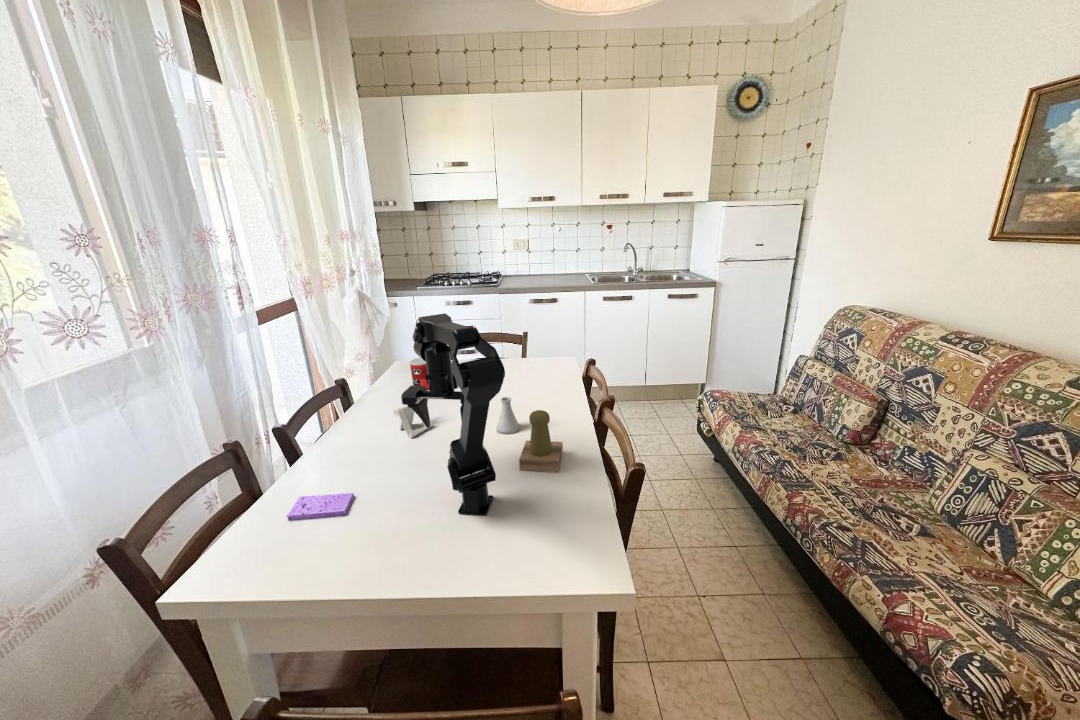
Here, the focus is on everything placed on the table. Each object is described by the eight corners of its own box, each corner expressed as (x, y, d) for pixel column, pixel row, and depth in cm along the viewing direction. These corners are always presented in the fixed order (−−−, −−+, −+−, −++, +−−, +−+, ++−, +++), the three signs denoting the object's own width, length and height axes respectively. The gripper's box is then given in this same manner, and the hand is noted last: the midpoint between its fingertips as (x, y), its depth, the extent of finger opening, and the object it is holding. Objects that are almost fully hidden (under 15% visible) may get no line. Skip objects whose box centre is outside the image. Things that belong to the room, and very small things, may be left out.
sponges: (301, 502, 103) (299, 496, 102) (355, 497, 104) (354, 491, 103) (287, 522, 96) (285, 515, 96) (346, 517, 97) (344, 510, 97)
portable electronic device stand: (412, 439, 130) (408, 413, 127) (394, 433, 134) (390, 408, 131) (433, 427, 136) (430, 402, 134) (416, 421, 141) (412, 398, 138)
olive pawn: (525, 453, 113) (522, 415, 110) (536, 442, 118) (534, 405, 115) (545, 458, 111) (544, 419, 107) (556, 447, 116) (555, 409, 112)
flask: (516, 435, 129) (514, 404, 126) (493, 433, 131) (490, 403, 128) (522, 424, 136) (520, 394, 133) (499, 422, 137) (497, 393, 134)
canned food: (412, 386, 170) (408, 359, 167) (432, 382, 173) (429, 356, 170) (415, 392, 164) (411, 365, 160) (436, 388, 167) (433, 361, 163)
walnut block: (558, 472, 110) (558, 461, 109) (519, 470, 112) (519, 460, 111) (562, 451, 119) (562, 442, 118) (526, 450, 121) (526, 440, 120)
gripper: (487, 357, 108) (491, 414, 113) (416, 356, 111) (423, 412, 116) (474, 373, 98) (479, 435, 103) (395, 371, 101) (405, 432, 106)
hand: (446, 427), depth 107 cm, fingers open, 9 cm apart
